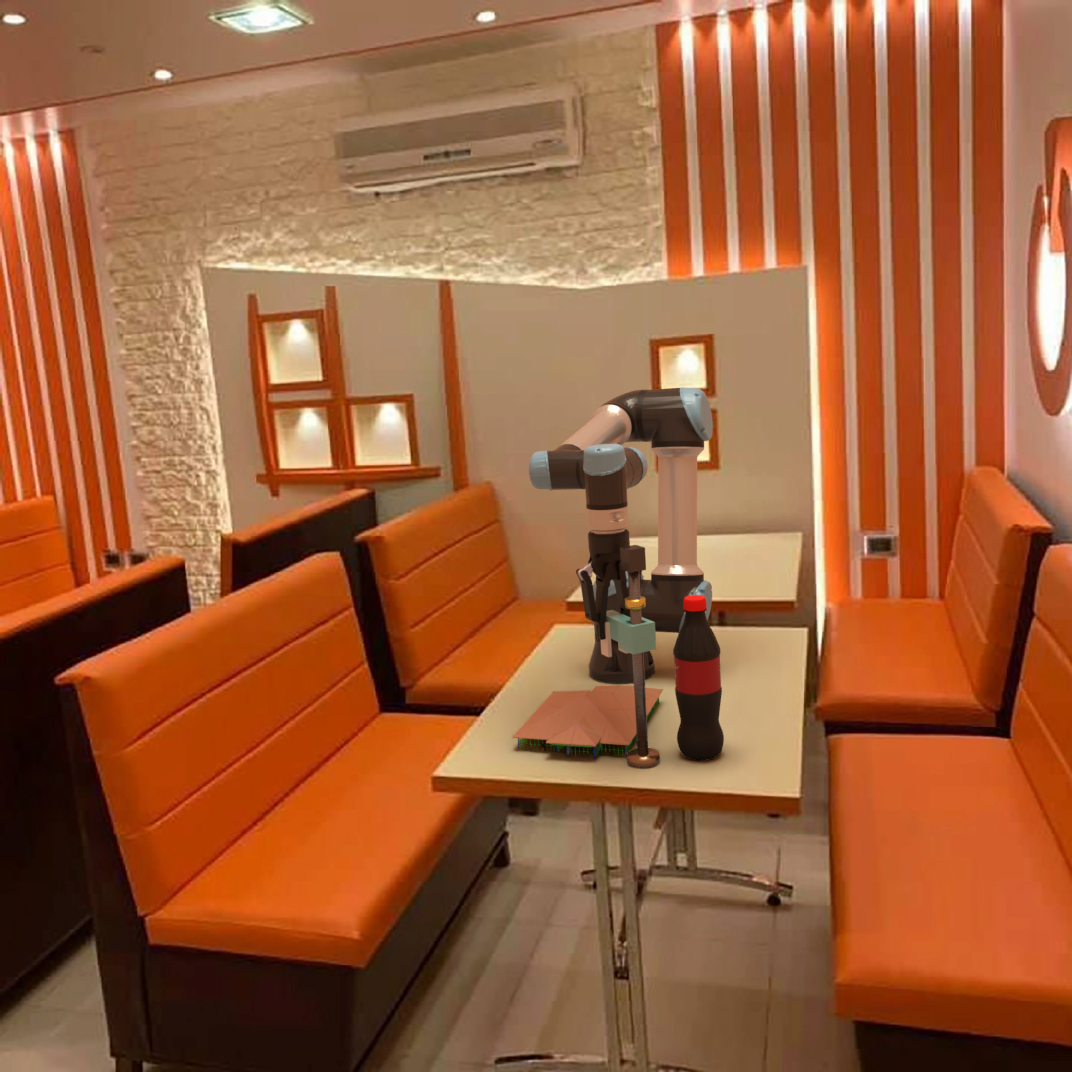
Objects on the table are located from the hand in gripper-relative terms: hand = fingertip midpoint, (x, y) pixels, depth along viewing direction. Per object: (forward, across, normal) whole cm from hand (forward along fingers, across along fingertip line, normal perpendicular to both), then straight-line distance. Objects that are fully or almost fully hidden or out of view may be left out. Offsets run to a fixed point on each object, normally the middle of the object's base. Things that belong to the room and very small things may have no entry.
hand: (615, 653), depth 195 cm
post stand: (+19, 0, -8) cm, 20 cm away
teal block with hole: (-3, 0, -4) cm, 5 cm away
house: (+19, 0, +12) cm, 23 cm away
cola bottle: (+19, +10, -12) cm, 24 cm away
